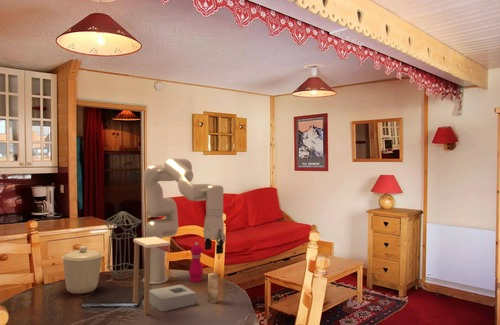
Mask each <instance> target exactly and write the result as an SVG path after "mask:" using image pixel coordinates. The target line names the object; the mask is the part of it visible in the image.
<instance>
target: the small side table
mask: <svg viewBox="0 0 500 325" xmlns="http://www.w3.org/2000/svg"><path fill="white" fill-rule="evenodd" d="M133 245H134V249H133V251H134V252H133V253H134V254H133V265H134V266H133V269H134V272H133V284H132V285H133V288H132V290H133V291H132V294H133V296H132V303H133V302H134V304H135V303H138V304H139V282H140V281H139V279H140V278H139V276H140V275H139V274H140V270H139V268H140V246H142V247H144V277H143V279H144V282H143V284H144V285H143V315H144V316H147V315H149V314H150V303H149V290H150V285H151V284H150V247H157V248H159V249H161V250H163V251H166V253H168V254H169V253H170V252H171V242H170V241H168V240H165V239H163V238H162V239H160V238H158V237H147V238H146V237H137V238H136V237H135V239H134V238H133Z"/></svg>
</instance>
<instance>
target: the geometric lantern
mask: <svg viewBox="0 0 500 325" xmlns="http://www.w3.org/2000/svg"><path fill="white" fill-rule="evenodd" d="M111 219H112V220H111ZM126 220H127V221H126ZM127 222H129V223H127ZM142 222H143V221H142V220H141V219H139V218H137V217H136V216H133V215H132V214H130V213H128V212H127V211H123V210H122V211H120V212H118V213H116V214H114V215H112V216H111V217H109V218H107V219H105V220H104V221H103V223H104V224H105V225H106V227H107V228H108V230H110V231H111V232H110V235H108V249H107V265H106V268H107V270H108V271H109V272H110V273H112V275H111V276H112V277H114V278H116V279H119V280H122V279H126V278H130V277H131V278H132V277H134V268H131V269H128V267H129V265H131V266H133V267H134V263H133V264H132V263H131V259H130V255H131V253H130V252H131V251H130V238H133V240H134V239H136V238H138V236H137V234H135V232H134V231H133V229H134V228H137V227H138V226H139V225H140V224H141V223H142ZM112 226H113V227H112ZM123 226H125V227H123ZM127 226H130V228H127ZM116 227H120V228H121V229H122V230H123V231H124V232H122V233H117V234H116V233H115V231H114V230H115V228H116ZM127 231H128V232H127ZM118 235H121V236H120V238H119V237H117V236H118ZM130 235H131V236H130ZM123 236H124V237H123ZM113 239H115V240H116V242H115V263H114V264H115V265H111V254H112V241H113ZM118 240H119V241H118ZM121 240H124V253H123V254H124V256H123V263H122V246H121V244H122V243H121V242H122V241H121ZM126 241H127V242H126ZM118 242H119V264H117V262H118V261H117V259H118V258H117V256H118ZM127 243H128V244H127ZM127 245H128V246H127ZM126 246H127V247H128V250H127V251H128V262H126ZM110 265H111V266H110ZM122 265H123V266H124V265H127V266H126V268H123V269H122ZM117 266H120V269H118V270H117ZM111 268H115V269H114V270H113V269H111ZM124 275H128V276H125V277H123V276H124ZM129 275H130V276H129ZM117 276H118V277H117Z"/></svg>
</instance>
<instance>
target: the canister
mask: <svg viewBox="0 0 500 325" xmlns="http://www.w3.org/2000/svg"><path fill="white" fill-rule="evenodd" d="M103 257H104V254H103V253H102V252H100V251H98V250H93V249H88V246H86V245H80V246H79V247H78V250H73V251H69V252H67V253H65V254H64V255H62V256H61V260H62V261H63V272H64V281H65V288H66V290H67V292H68V293H70V294H73V295H74V294H75V295H76V294H77V295H81V294H82V295H83V294H87V293H88V294H89V293H91V292H93V291H95V290H96V289H97V287H98V284H99V280H100V279H99V278H100V274H101V273H100V272H101V267H102V265H101V264H102V258H103Z"/></svg>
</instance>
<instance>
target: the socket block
mask: <svg viewBox="0 0 500 325" xmlns="http://www.w3.org/2000/svg"><path fill="white" fill-rule="evenodd" d="M196 296H197V292H195V291H194V290H192V289H190V288H189V287H187V286H185V285H183V284H176V285H175V284H174V285H172V286H171V285H169V286H165V287H160V288H159V287H158V288H154V289H149V305H152V306H153V307H154V308H155V309H157V310H158V311H159V312H161V313H162V312H167V311H170V310H175V309H180V308H185V307H188V306H193V305H196V300H197V297H196Z"/></svg>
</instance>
